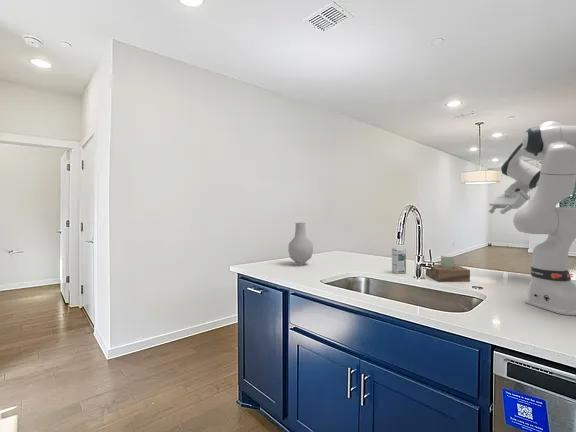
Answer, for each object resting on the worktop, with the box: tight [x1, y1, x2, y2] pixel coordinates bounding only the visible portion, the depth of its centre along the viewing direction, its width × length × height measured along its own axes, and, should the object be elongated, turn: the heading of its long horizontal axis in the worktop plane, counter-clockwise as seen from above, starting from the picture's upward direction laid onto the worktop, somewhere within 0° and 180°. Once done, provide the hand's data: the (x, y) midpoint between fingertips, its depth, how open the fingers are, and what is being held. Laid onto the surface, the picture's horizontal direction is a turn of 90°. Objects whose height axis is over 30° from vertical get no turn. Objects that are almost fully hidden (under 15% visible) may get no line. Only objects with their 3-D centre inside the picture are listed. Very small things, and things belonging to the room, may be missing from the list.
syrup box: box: [391, 247, 407, 275], centre depth 193 cm, size 6×6×14 cm
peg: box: [440, 255, 454, 268], centre depth 178 cm, size 4×4×12 cm
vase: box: [288, 222, 314, 266], centre depth 220 cm, size 17×16×28 cm
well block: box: [425, 263, 471, 283], centre depth 178 cm, size 16×16×6 cm
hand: (495, 212), depth 175 cm, fingers open, 8 cm apart
